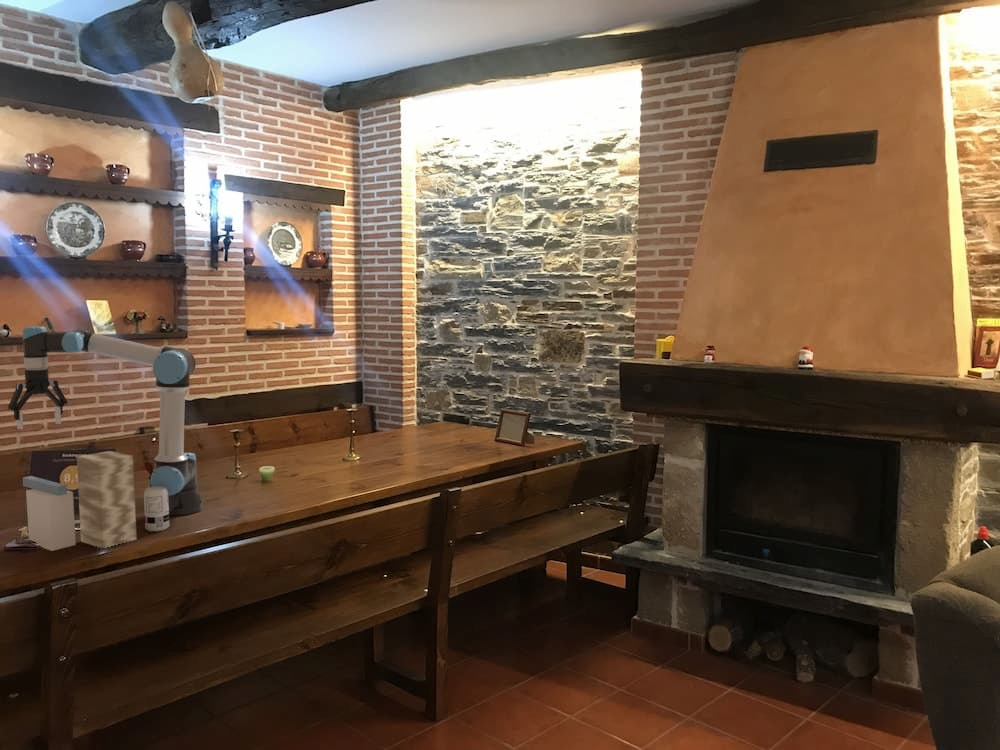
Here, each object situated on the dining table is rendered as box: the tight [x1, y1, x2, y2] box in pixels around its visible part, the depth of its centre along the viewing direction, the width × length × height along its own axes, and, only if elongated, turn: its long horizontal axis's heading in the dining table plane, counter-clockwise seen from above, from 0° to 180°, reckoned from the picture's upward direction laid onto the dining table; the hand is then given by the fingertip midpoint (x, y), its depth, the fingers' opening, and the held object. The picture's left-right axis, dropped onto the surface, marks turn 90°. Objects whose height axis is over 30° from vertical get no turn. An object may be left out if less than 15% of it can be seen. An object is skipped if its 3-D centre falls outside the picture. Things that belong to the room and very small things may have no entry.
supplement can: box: [143, 486, 170, 532], centre depth 296 cm, size 8×8×15 cm
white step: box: [25, 488, 76, 552], centre depth 277 cm, size 8×15×18 cm, turn 56°
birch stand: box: [76, 450, 138, 549], centre depth 280 cm, size 12×14×30 cm
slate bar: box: [22, 475, 68, 496], centre depth 278 cm, size 3×23×3 cm, turn 56°
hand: (39, 426), depth 298 cm, fingers open, 13 cm apart
